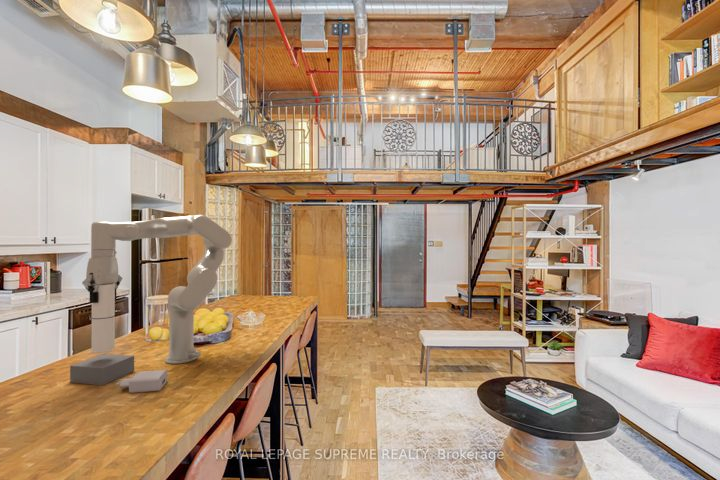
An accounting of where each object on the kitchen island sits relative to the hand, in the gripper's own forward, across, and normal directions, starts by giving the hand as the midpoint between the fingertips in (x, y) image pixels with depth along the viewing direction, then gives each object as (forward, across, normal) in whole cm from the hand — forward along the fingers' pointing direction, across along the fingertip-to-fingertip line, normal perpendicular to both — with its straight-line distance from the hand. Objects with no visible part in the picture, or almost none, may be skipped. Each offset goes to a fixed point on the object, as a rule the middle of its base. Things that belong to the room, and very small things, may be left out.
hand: (103, 300), depth 137 cm
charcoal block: (+29, 0, 0) cm, 29 cm away
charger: (+29, +6, +22) cm, 37 cm away
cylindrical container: (+19, 0, 0) cm, 19 cm away
